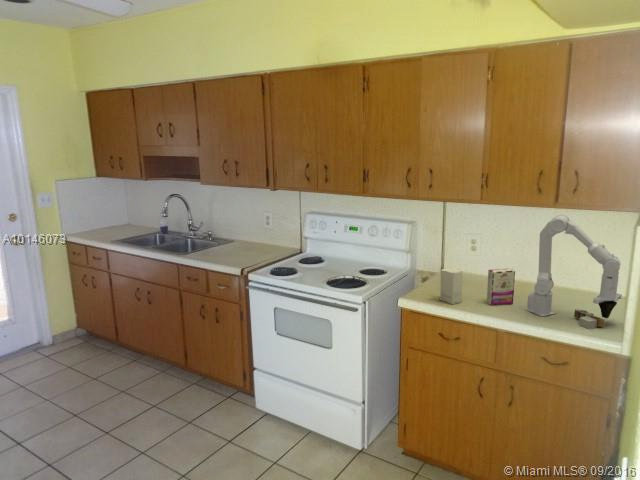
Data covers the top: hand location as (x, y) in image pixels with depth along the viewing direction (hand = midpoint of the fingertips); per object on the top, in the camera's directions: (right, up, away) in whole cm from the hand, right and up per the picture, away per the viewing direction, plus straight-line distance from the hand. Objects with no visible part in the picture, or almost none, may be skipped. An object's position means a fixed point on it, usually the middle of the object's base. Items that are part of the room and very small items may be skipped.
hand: (605, 317), depth 192 cm
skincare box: (-56, +3, +30) cm, 63 cm away
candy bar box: (-34, +2, +27) cm, 43 cm away
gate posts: (-6, -2, +5) cm, 8 cm away
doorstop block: (-8, -4, -1) cm, 9 cm away
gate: (-6, -2, +2) cm, 6 cm away
